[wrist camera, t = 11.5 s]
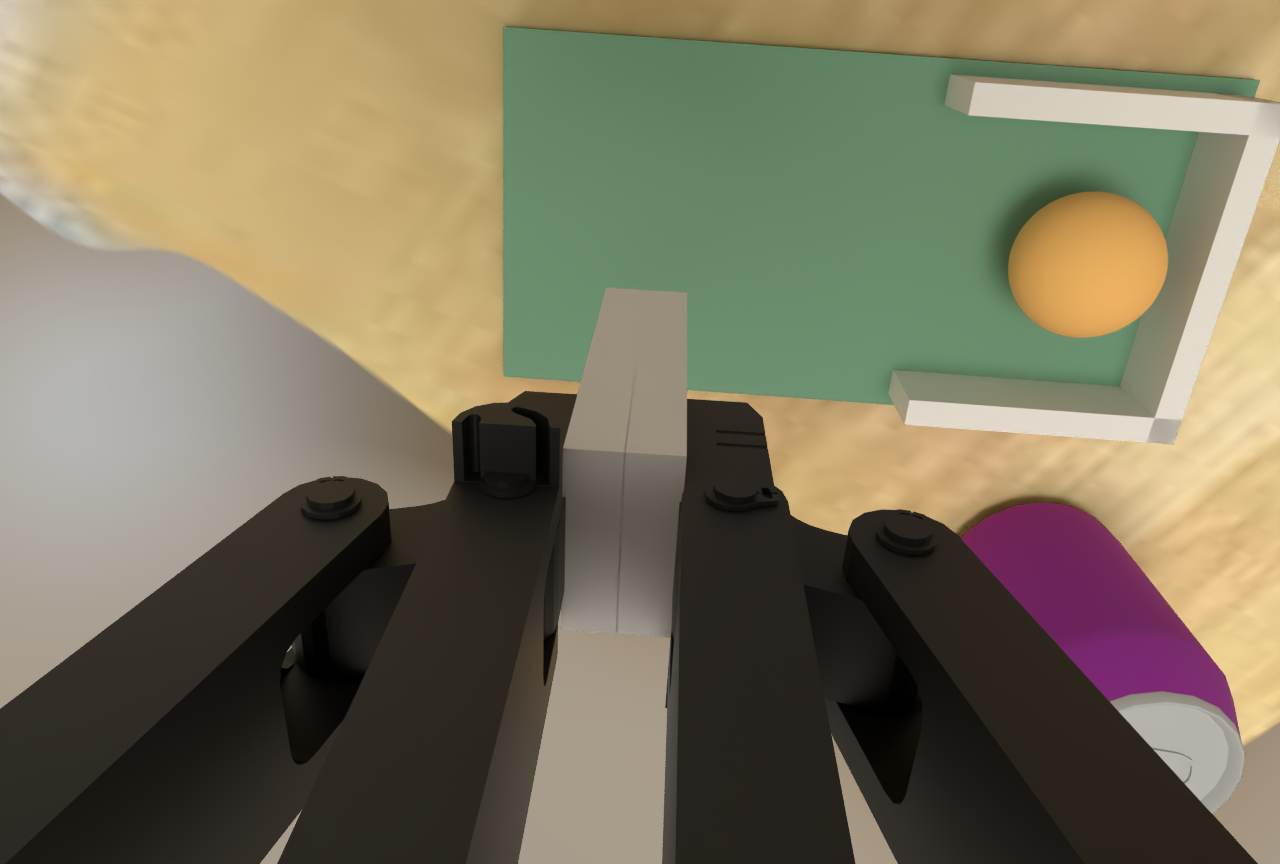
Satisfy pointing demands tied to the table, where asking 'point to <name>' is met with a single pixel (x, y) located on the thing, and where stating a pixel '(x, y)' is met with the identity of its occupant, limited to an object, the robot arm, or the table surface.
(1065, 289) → the orange ball
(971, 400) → the white u-shaped frame
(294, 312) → the table surface
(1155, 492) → the table surface
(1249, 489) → the table surface
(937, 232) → the putting mat
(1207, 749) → the beverage can
